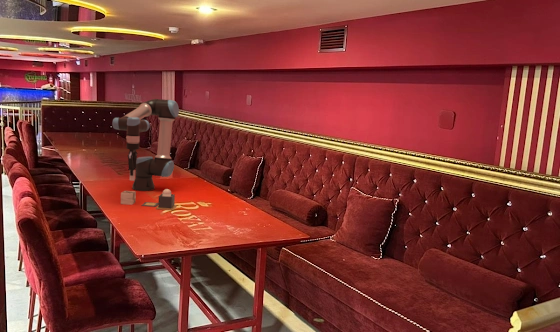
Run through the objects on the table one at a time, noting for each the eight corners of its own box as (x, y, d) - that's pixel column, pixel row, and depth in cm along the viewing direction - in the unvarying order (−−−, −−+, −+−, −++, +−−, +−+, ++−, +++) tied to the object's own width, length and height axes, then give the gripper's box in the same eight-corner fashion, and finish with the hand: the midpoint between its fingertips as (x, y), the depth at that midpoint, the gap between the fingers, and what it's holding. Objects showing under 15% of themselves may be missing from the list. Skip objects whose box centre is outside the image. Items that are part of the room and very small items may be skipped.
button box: (160, 205, 295) (160, 193, 294) (176, 206, 295) (176, 194, 294) (156, 209, 285) (156, 196, 284) (172, 210, 285) (173, 197, 284)
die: (124, 201, 298) (124, 190, 296) (135, 202, 298) (135, 191, 296) (120, 204, 291) (120, 192, 289) (131, 204, 291) (132, 193, 290)
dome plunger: (163, 203, 292) (163, 187, 291) (171, 203, 292) (172, 188, 291) (161, 205, 287) (161, 189, 286) (169, 205, 287) (170, 190, 286)
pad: (145, 202, 299) (145, 201, 299) (159, 203, 299) (159, 202, 299) (141, 205, 290) (141, 205, 290) (155, 206, 290) (155, 206, 290)
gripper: (129, 141, 294) (128, 178, 298) (123, 143, 281) (122, 182, 285) (141, 141, 294) (140, 178, 298) (136, 144, 282) (135, 182, 285)
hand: (132, 180), depth 292 cm, fingers closed
